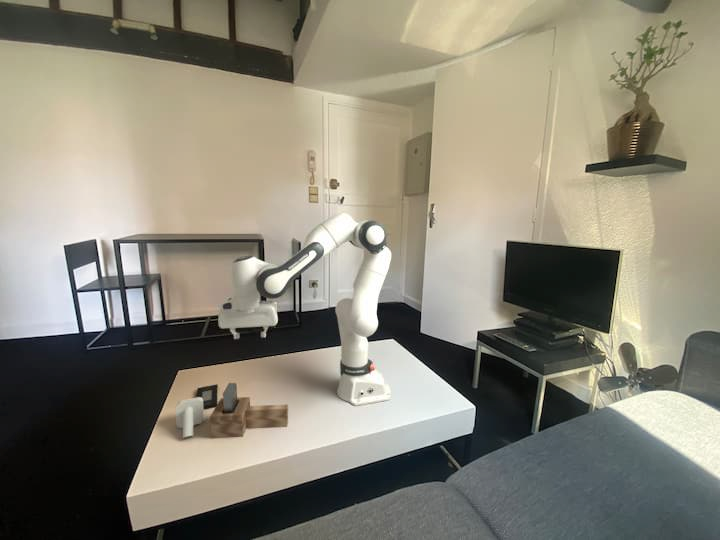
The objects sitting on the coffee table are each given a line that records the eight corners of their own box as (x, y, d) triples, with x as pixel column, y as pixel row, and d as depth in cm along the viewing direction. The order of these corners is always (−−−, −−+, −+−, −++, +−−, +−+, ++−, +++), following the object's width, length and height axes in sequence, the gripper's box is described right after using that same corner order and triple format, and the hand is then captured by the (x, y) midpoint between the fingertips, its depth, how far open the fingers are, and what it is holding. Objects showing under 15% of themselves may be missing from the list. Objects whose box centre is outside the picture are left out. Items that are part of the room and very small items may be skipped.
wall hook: (173, 443, 95) (171, 412, 95) (178, 430, 104) (177, 401, 105) (201, 436, 98) (200, 406, 99) (204, 424, 108) (202, 396, 108)
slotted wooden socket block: (289, 415, 110) (289, 395, 109) (285, 434, 101) (285, 413, 99) (222, 418, 108) (220, 398, 107) (211, 438, 98) (209, 416, 97)
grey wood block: (237, 408, 106) (236, 382, 104) (232, 419, 100) (230, 392, 98) (230, 408, 106) (228, 383, 104) (224, 420, 100) (222, 393, 98)
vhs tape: (217, 388, 127) (217, 384, 127) (217, 408, 115) (217, 403, 114) (197, 392, 124) (197, 388, 124) (195, 412, 111) (194, 408, 111)
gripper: (278, 297, 111) (280, 332, 113) (220, 300, 109) (224, 335, 111) (275, 302, 105) (277, 339, 107) (214, 305, 102) (218, 343, 105)
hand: (250, 337), depth 109 cm, fingers open, 8 cm apart
